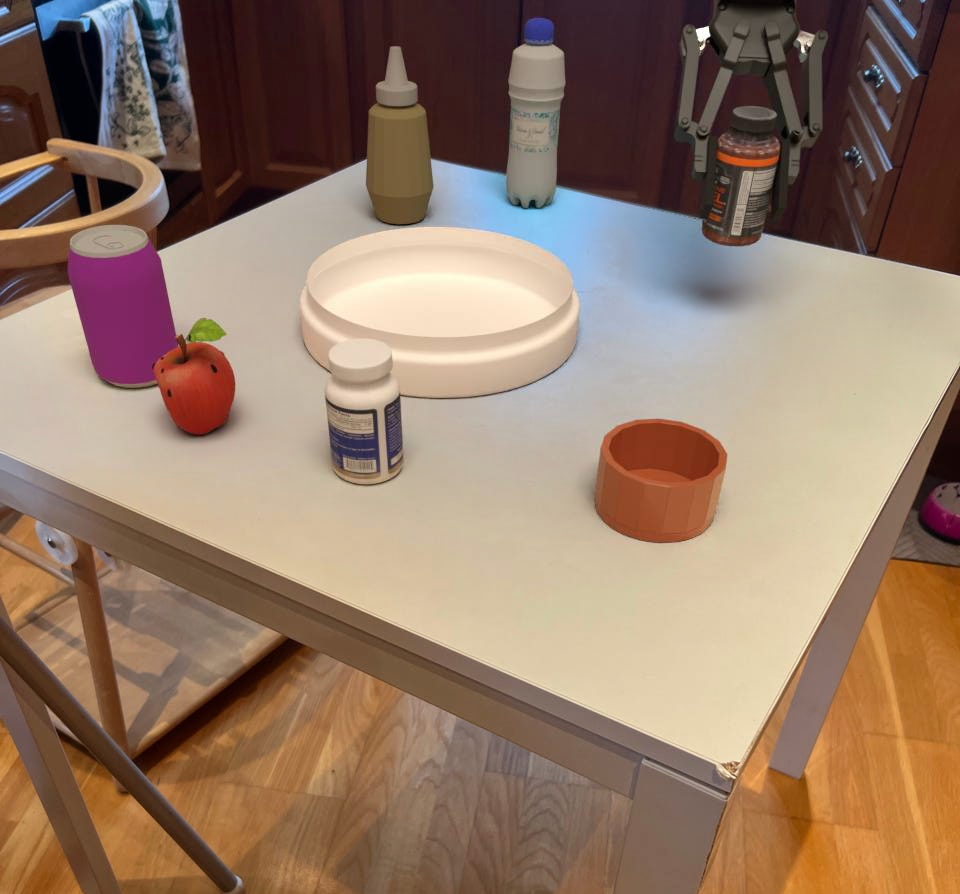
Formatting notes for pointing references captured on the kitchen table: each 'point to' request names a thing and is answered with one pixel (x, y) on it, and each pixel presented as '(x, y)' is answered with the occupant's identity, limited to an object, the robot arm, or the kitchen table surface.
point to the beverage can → (121, 303)
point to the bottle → (534, 115)
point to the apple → (197, 380)
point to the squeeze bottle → (398, 148)
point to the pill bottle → (364, 412)
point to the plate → (445, 308)
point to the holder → (659, 479)
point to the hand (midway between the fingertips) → (742, 213)
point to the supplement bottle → (743, 178)
